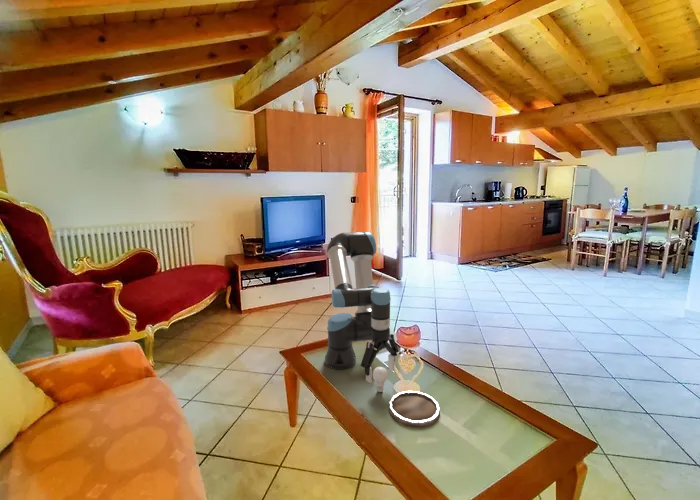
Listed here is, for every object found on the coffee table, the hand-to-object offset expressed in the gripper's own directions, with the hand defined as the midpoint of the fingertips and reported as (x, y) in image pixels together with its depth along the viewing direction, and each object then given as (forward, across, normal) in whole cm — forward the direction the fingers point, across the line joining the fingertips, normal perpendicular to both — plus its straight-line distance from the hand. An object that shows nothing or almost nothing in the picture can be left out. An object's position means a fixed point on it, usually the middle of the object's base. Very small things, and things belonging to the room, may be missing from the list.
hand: (380, 375), depth 146 cm
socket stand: (+8, +1, -16) cm, 18 cm away
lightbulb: (+8, 0, 0) cm, 8 cm away
